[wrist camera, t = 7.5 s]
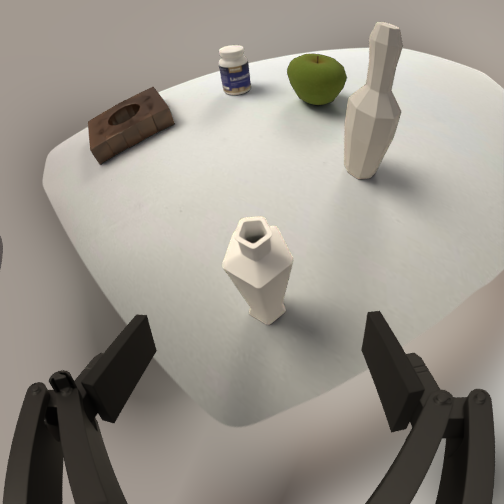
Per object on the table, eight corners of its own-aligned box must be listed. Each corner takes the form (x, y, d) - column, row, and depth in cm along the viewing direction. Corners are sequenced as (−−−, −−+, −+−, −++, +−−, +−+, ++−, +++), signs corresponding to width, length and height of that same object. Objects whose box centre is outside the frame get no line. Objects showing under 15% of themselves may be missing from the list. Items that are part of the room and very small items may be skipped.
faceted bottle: (362, 148, 38) (385, 17, 19) (388, 175, 36) (429, 38, 16) (330, 160, 38) (344, 15, 18) (357, 189, 35) (392, 35, 15)
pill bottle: (234, 98, 48) (227, 55, 39) (218, 90, 50) (209, 50, 42) (257, 88, 49) (252, 46, 41) (239, 81, 52) (233, 42, 43)
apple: (280, 91, 48) (277, 48, 39) (328, 85, 48) (330, 45, 39) (300, 119, 43) (300, 69, 34) (353, 112, 43) (360, 66, 34)
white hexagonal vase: (238, 295, 30) (202, 215, 17) (276, 281, 30) (270, 191, 17) (253, 334, 28) (225, 281, 14) (293, 318, 28) (302, 251, 15)
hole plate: (99, 165, 44) (90, 150, 40) (95, 134, 50) (87, 121, 46) (175, 124, 46) (169, 107, 42) (158, 100, 52) (153, 86, 48)
